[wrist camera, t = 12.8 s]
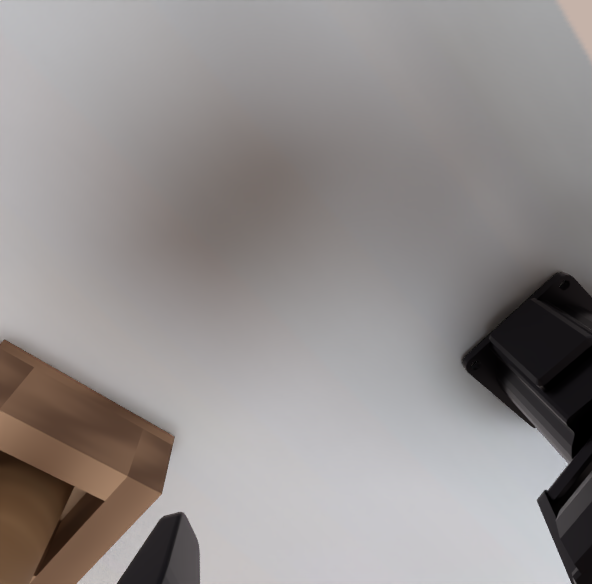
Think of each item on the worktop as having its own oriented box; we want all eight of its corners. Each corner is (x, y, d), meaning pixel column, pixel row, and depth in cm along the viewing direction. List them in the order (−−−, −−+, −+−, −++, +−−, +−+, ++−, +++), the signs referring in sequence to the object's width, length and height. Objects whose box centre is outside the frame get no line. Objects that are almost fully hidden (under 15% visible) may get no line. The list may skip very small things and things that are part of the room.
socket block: (175, 431, 23) (161, 493, 19) (80, 536, 25) (50, 610, 21) (8, 335, 20) (-46, 386, 16) (-85, 462, 22) (-152, 533, 18)
